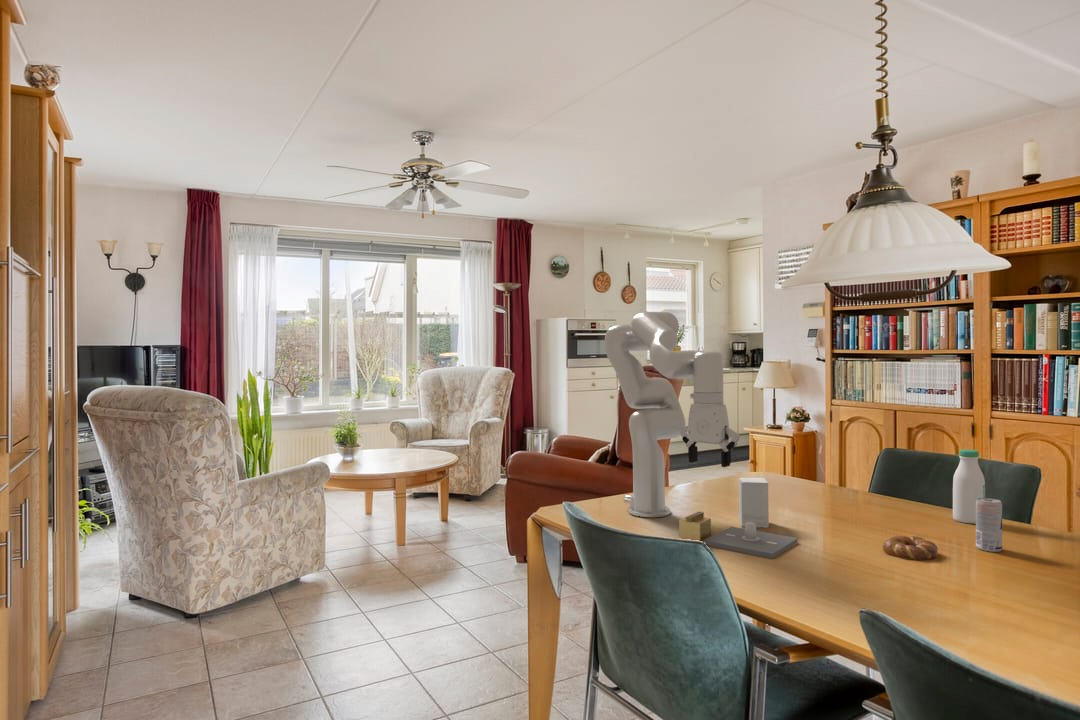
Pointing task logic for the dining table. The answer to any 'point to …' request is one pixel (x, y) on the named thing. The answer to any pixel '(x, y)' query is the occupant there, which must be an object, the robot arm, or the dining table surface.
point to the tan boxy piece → (695, 527)
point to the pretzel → (910, 547)
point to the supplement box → (753, 501)
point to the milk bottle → (967, 487)
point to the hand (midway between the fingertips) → (709, 464)
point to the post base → (751, 541)
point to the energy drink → (989, 524)
